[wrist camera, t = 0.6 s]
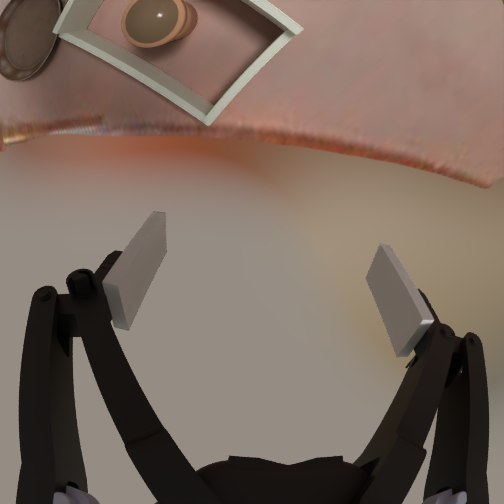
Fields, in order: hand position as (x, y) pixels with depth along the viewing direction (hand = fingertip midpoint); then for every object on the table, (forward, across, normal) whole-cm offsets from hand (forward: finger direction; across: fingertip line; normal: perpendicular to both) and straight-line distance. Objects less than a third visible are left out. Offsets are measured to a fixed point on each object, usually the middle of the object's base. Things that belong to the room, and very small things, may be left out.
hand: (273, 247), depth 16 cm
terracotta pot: (+22, -14, +18) cm, 32 cm away
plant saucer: (+22, -40, +22) cm, 51 cm away
